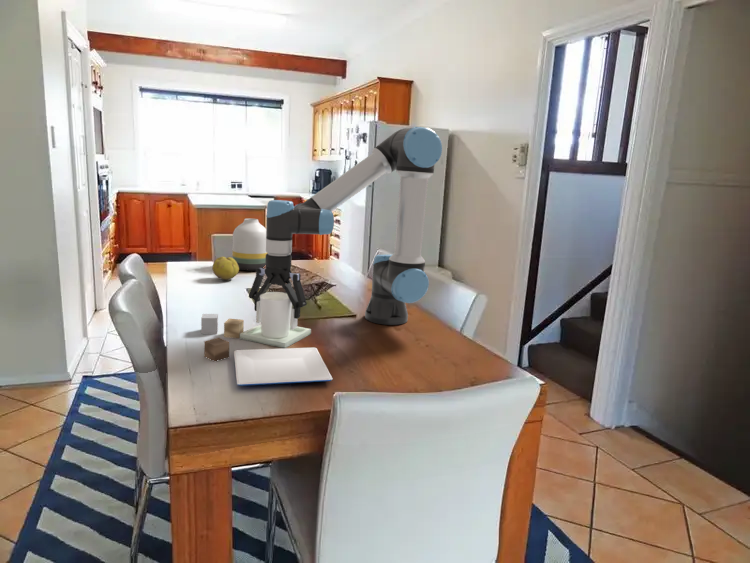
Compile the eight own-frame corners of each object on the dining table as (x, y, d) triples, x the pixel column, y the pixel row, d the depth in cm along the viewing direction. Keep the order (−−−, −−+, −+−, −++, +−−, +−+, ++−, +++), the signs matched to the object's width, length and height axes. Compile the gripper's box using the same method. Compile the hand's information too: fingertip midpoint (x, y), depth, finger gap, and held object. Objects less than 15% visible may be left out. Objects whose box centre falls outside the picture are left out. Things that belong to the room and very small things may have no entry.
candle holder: (273, 341, 152) (275, 301, 149) (251, 333, 158) (252, 295, 155) (298, 334, 160) (299, 296, 157) (276, 327, 165) (277, 290, 163)
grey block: (218, 329, 161) (218, 313, 160) (217, 334, 157) (217, 318, 156) (202, 329, 160) (202, 313, 159) (201, 334, 156) (201, 318, 155)
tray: (310, 333, 163) (311, 329, 163) (285, 348, 149) (285, 343, 148) (268, 325, 168) (268, 320, 168) (239, 338, 154) (239, 333, 154)
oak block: (243, 333, 159) (243, 319, 158) (239, 338, 155) (239, 324, 154) (228, 332, 159) (229, 318, 158) (224, 337, 155) (224, 322, 154)
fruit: (205, 279, 224) (205, 256, 222) (227, 276, 234) (227, 254, 232) (222, 284, 218) (222, 260, 216) (244, 280, 228) (244, 257, 226)
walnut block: (229, 357, 139) (229, 341, 138) (214, 362, 136) (214, 345, 135) (218, 353, 142) (218, 337, 141) (204, 357, 138) (204, 341, 137)
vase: (275, 270, 252) (276, 221, 247) (245, 274, 240) (245, 222, 235) (255, 264, 263) (256, 216, 258) (225, 267, 251) (225, 217, 246)
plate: (332, 386, 126) (333, 378, 126) (236, 392, 120) (237, 383, 119) (316, 353, 147) (316, 346, 147) (233, 356, 140) (233, 349, 140)
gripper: (320, 256, 152) (317, 328, 157) (252, 247, 161) (250, 315, 165) (308, 260, 146) (305, 335, 150) (237, 250, 154) (236, 321, 158)
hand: (276, 325), depth 158 cm, fingers open, 11 cm apart
